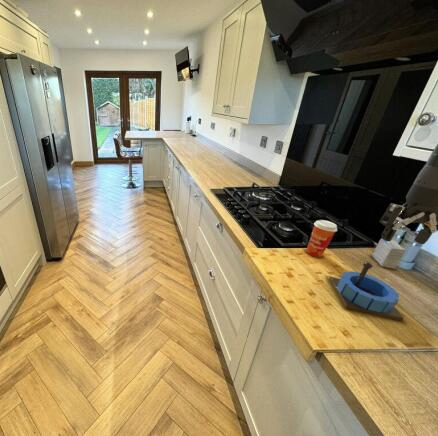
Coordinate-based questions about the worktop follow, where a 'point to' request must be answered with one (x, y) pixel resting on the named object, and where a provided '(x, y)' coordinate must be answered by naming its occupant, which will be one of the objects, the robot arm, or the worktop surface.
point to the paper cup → (320, 237)
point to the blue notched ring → (371, 302)
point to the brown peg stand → (350, 305)
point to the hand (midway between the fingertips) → (402, 241)
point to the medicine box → (388, 253)
